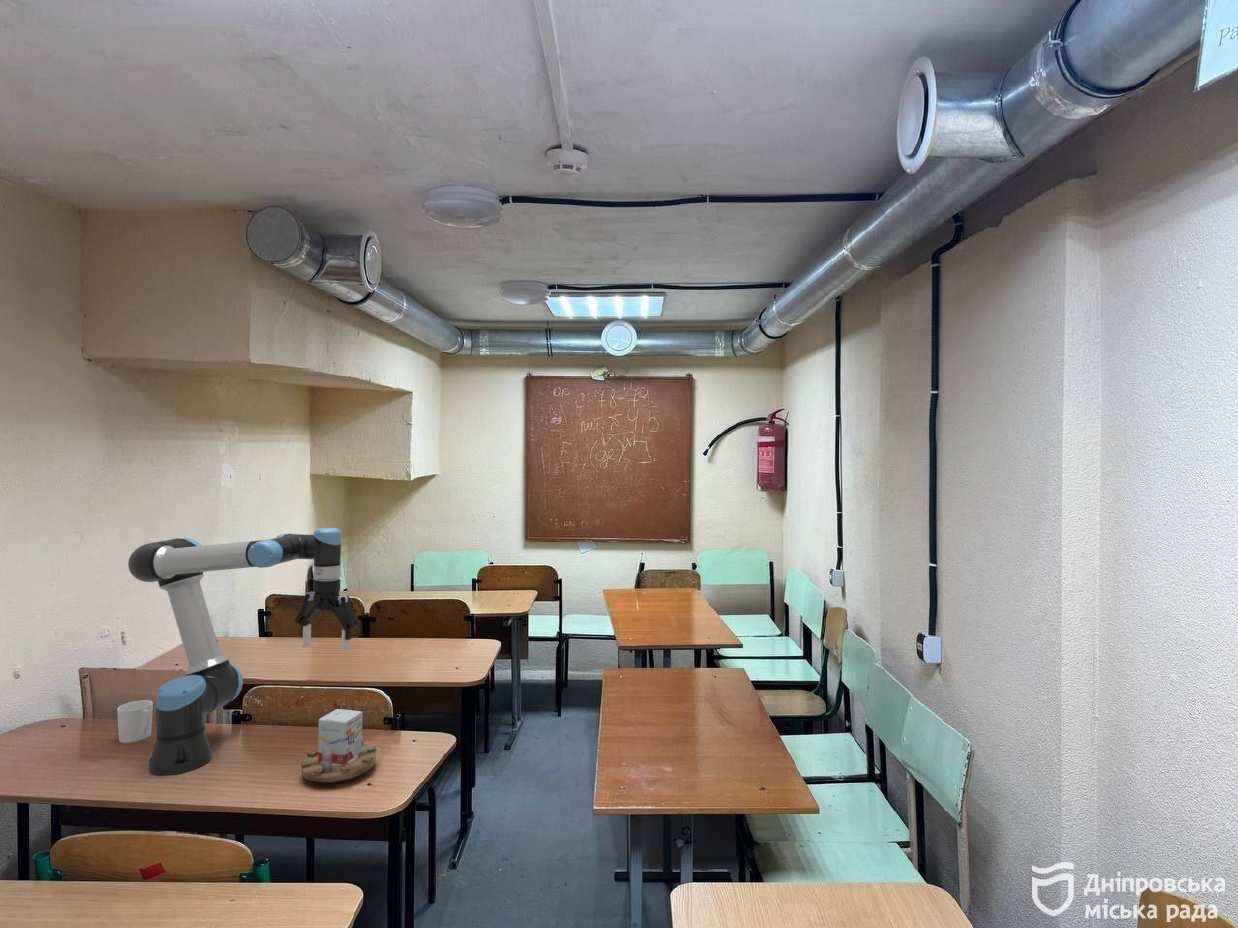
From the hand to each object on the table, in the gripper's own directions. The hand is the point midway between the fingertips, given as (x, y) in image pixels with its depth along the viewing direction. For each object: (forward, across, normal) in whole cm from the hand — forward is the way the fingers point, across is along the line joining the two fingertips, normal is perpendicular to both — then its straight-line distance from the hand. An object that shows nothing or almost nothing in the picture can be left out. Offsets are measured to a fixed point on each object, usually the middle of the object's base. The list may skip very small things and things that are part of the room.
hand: (325, 648), depth 197 cm
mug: (+31, -60, -9) cm, 68 cm away
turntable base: (+30, +15, -13) cm, 36 cm away
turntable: (+28, +15, -13) cm, 34 cm away
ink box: (+26, +15, -13) cm, 33 cm away
